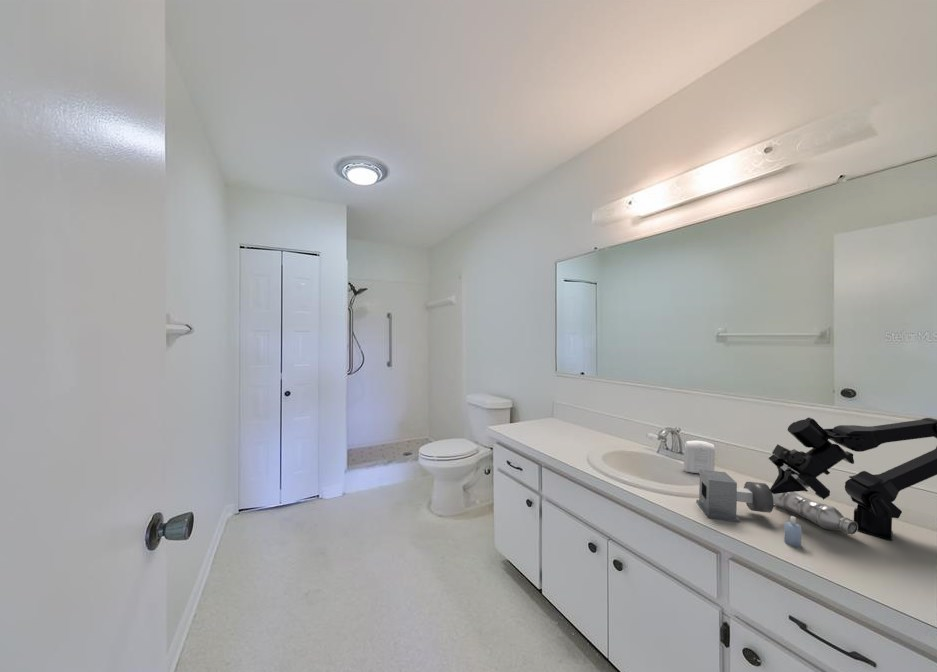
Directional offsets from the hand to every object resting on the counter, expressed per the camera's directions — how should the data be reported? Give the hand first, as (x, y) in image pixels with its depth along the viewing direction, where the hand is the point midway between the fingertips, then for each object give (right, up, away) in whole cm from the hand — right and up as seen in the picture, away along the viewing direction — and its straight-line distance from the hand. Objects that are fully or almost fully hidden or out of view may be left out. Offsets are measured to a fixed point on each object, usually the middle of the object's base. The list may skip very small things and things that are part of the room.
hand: (771, 492), depth 103 cm
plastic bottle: (+9, -5, +10) cm, 14 cm away
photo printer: (+1, -7, +34) cm, 34 cm away
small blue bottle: (-5, -8, -12) cm, 15 cm away
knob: (-7, -6, +2) cm, 10 cm away
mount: (-13, -8, +4) cm, 16 cm away
